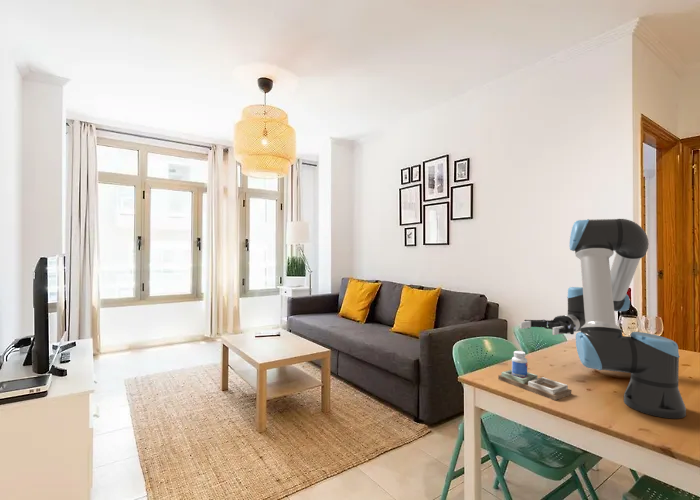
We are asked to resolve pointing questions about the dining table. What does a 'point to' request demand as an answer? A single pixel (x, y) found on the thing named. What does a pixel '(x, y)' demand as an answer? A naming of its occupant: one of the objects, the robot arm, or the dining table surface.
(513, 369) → the pill bottle
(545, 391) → the board
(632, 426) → the dining table surface
